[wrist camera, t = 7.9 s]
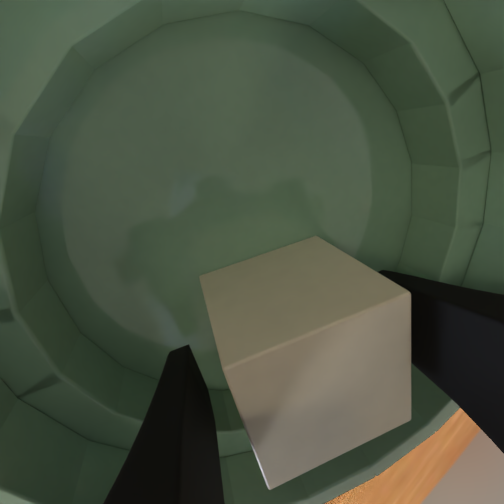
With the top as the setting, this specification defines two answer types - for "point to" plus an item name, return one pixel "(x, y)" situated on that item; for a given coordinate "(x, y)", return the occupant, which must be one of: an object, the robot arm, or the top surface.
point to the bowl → (222, 203)
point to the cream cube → (311, 353)
